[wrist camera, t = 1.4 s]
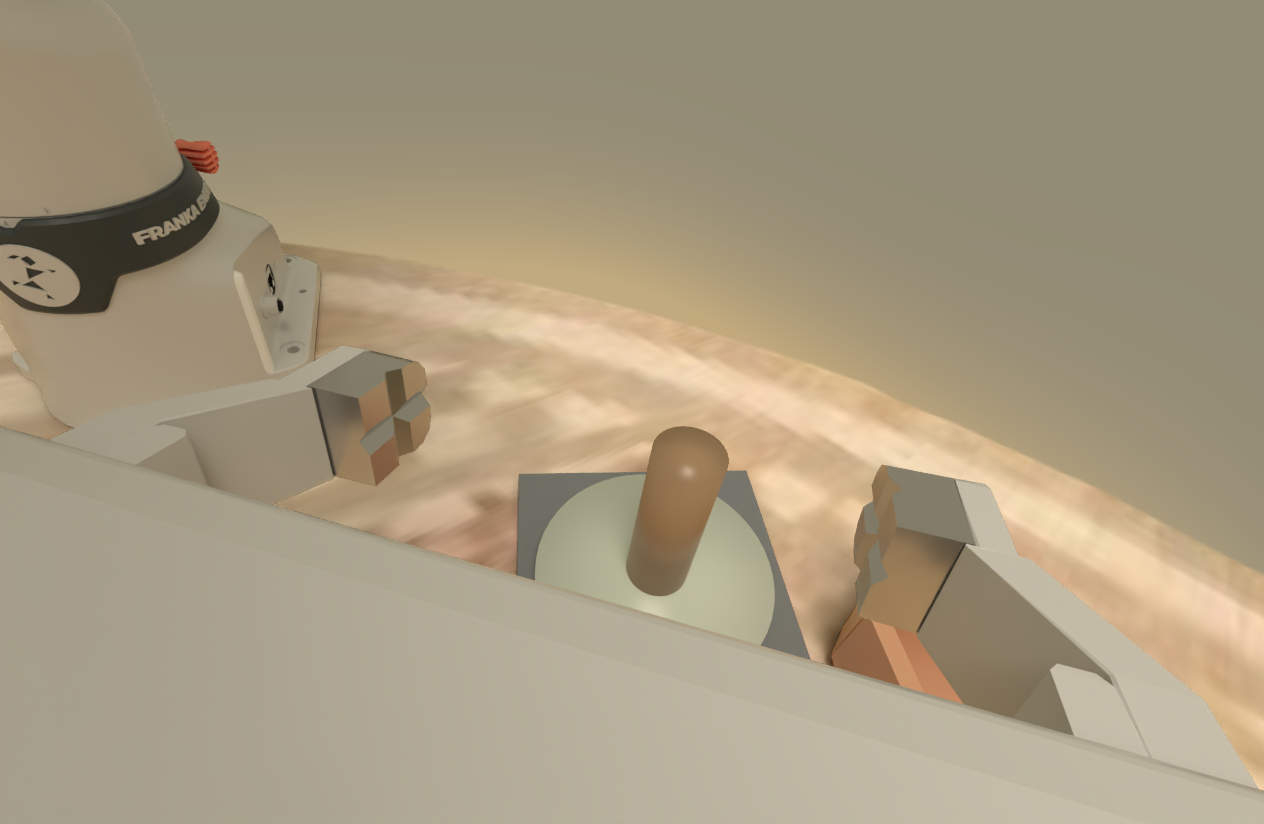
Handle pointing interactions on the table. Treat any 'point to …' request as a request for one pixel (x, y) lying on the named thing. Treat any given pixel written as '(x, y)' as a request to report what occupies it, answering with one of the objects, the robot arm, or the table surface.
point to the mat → (554, 490)
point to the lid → (665, 543)
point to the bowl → (889, 657)
